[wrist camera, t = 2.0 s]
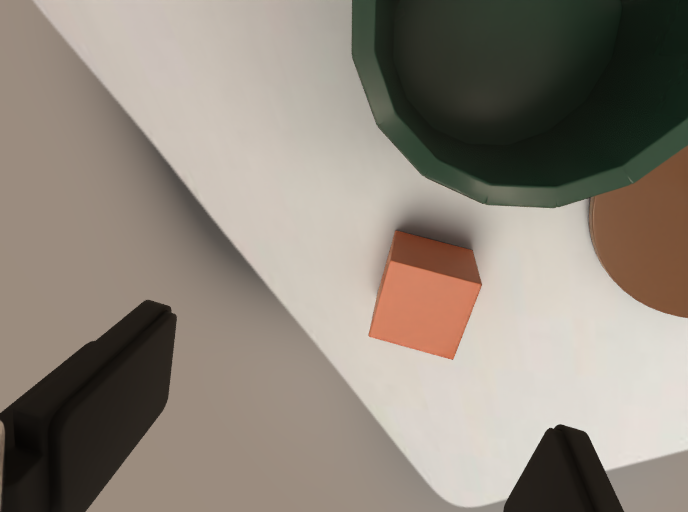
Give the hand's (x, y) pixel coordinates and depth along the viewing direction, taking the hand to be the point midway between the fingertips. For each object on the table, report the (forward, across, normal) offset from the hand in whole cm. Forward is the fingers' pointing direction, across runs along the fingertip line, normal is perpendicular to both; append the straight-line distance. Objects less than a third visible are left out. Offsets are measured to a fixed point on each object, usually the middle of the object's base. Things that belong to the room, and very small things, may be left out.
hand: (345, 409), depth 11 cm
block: (+19, -3, +4) cm, 19 cm away
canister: (+18, -3, -10) cm, 21 cm away
